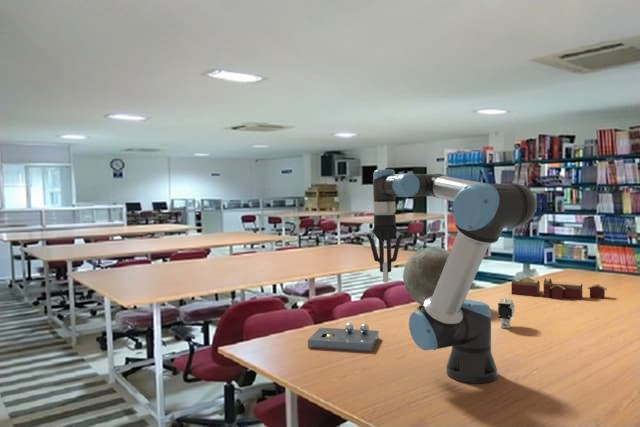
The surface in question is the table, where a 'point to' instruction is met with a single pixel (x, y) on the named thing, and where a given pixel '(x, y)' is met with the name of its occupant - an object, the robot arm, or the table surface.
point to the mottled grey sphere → (424, 272)
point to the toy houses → (554, 289)
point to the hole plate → (344, 339)
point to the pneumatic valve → (505, 312)
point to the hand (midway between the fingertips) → (385, 281)
